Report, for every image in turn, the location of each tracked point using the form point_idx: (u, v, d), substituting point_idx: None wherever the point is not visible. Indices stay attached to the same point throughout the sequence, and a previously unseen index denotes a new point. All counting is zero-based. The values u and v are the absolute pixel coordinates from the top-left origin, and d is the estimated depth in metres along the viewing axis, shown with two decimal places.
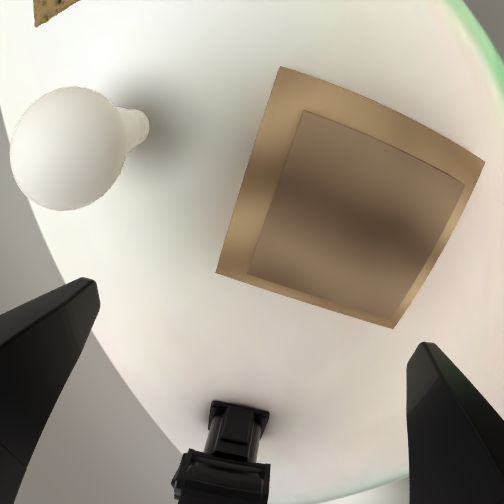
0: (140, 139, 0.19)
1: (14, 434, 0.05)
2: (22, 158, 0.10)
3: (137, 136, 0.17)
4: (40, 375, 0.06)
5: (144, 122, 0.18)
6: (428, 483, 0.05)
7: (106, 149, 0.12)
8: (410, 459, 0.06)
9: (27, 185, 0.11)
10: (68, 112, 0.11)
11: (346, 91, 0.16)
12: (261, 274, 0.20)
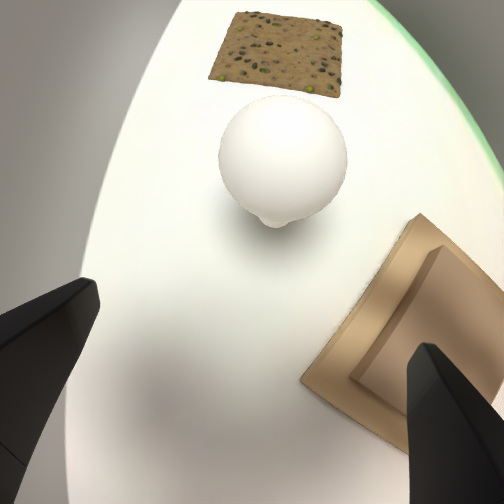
0: None
1: (14, 433, 0.05)
2: (285, 114, 0.12)
3: None
4: (40, 375, 0.06)
5: None
6: (428, 483, 0.05)
7: (344, 173, 0.14)
8: (410, 459, 0.06)
9: (271, 138, 0.12)
10: (334, 122, 0.13)
11: (457, 247, 0.20)
12: (372, 384, 0.16)
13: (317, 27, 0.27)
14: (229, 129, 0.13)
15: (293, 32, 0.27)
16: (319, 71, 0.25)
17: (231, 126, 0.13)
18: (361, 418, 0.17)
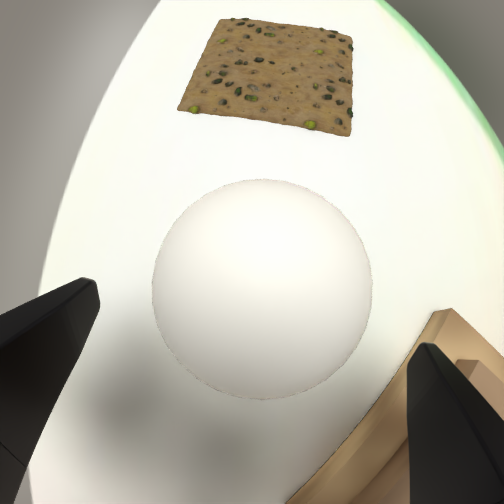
0: None
1: (14, 434, 0.05)
2: (261, 249, 0.06)
3: None
4: (40, 375, 0.06)
5: None
6: (428, 483, 0.05)
7: (364, 329, 0.08)
8: (410, 459, 0.06)
9: (229, 309, 0.06)
10: (356, 238, 0.08)
11: (491, 347, 0.14)
12: None
13: (321, 37, 0.22)
14: (161, 258, 0.08)
15: (290, 44, 0.22)
16: (323, 98, 0.20)
17: (164, 253, 0.07)
18: None
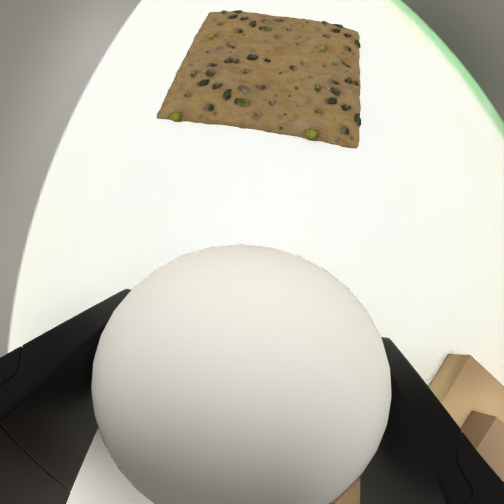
0: None
1: (58, 460, 0.05)
2: (222, 406, 0.04)
3: None
4: (88, 397, 0.06)
5: None
6: (375, 487, 0.05)
7: None
8: None
9: (178, 477, 0.03)
10: (375, 345, 0.05)
11: None
12: None
13: (324, 32, 0.19)
14: (95, 370, 0.05)
15: (289, 39, 0.19)
16: (327, 102, 0.17)
17: (97, 366, 0.05)
18: None
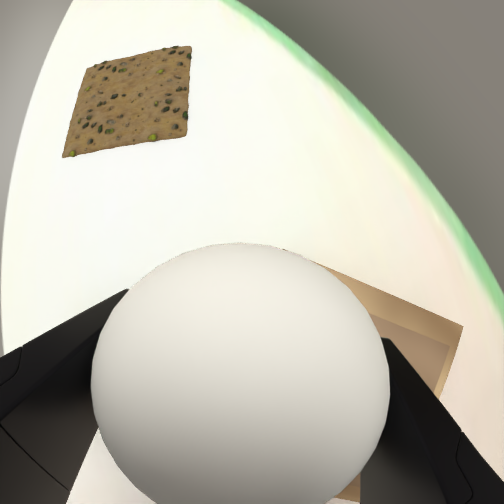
0: None
1: (59, 459, 0.05)
2: (220, 404, 0.04)
3: None
4: (88, 397, 0.06)
5: None
6: (375, 487, 0.05)
7: None
8: None
9: (178, 474, 0.03)
10: (374, 343, 0.05)
11: (340, 274, 0.20)
12: None
13: (163, 57, 0.26)
14: (94, 368, 0.05)
15: (138, 73, 0.26)
16: (162, 111, 0.25)
17: (96, 364, 0.05)
18: None
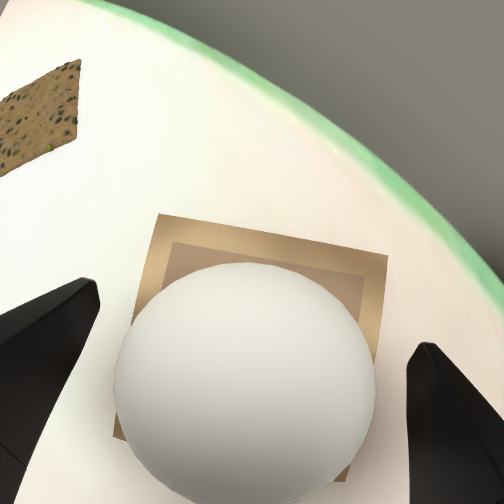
0: None
1: (14, 434, 0.05)
2: (236, 403, 0.04)
3: None
4: (40, 375, 0.06)
5: None
6: (428, 483, 0.05)
7: None
8: (410, 459, 0.06)
9: (198, 463, 0.04)
10: (362, 353, 0.06)
11: (220, 225, 0.19)
12: None
13: (57, 75, 0.25)
14: (120, 372, 0.06)
15: (37, 95, 0.24)
16: (55, 123, 0.23)
17: (122, 369, 0.06)
18: None
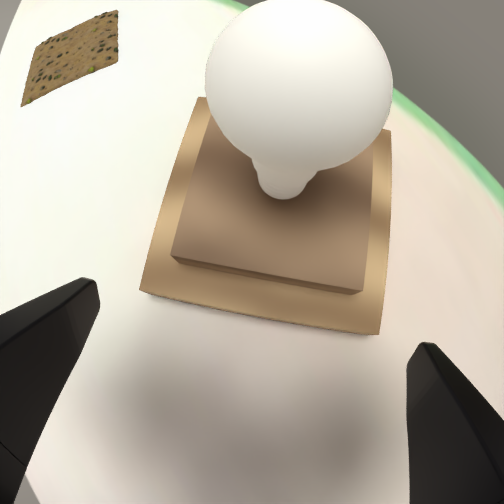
0: (300, 187, 0.15)
1: (14, 434, 0.05)
2: (306, 5, 0.07)
3: None
4: (40, 375, 0.06)
5: None
6: (428, 483, 0.05)
7: (390, 102, 0.08)
8: (410, 459, 0.06)
9: (286, 29, 0.07)
10: None
11: None
12: (186, 252, 0.16)
13: (96, 21, 0.27)
14: (222, 33, 0.08)
15: (77, 36, 0.27)
16: (97, 52, 0.25)
17: (225, 29, 0.08)
18: (215, 301, 0.18)
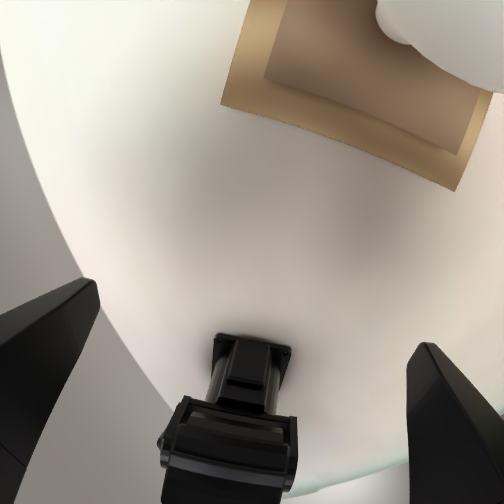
0: None
1: (13, 434, 0.05)
2: None
3: None
4: (40, 375, 0.06)
5: None
6: (428, 483, 0.05)
7: None
8: (410, 459, 0.06)
9: None
10: None
11: None
12: (283, 77, 0.13)
13: None
14: None
15: None
16: None
17: None
18: (306, 123, 0.15)
